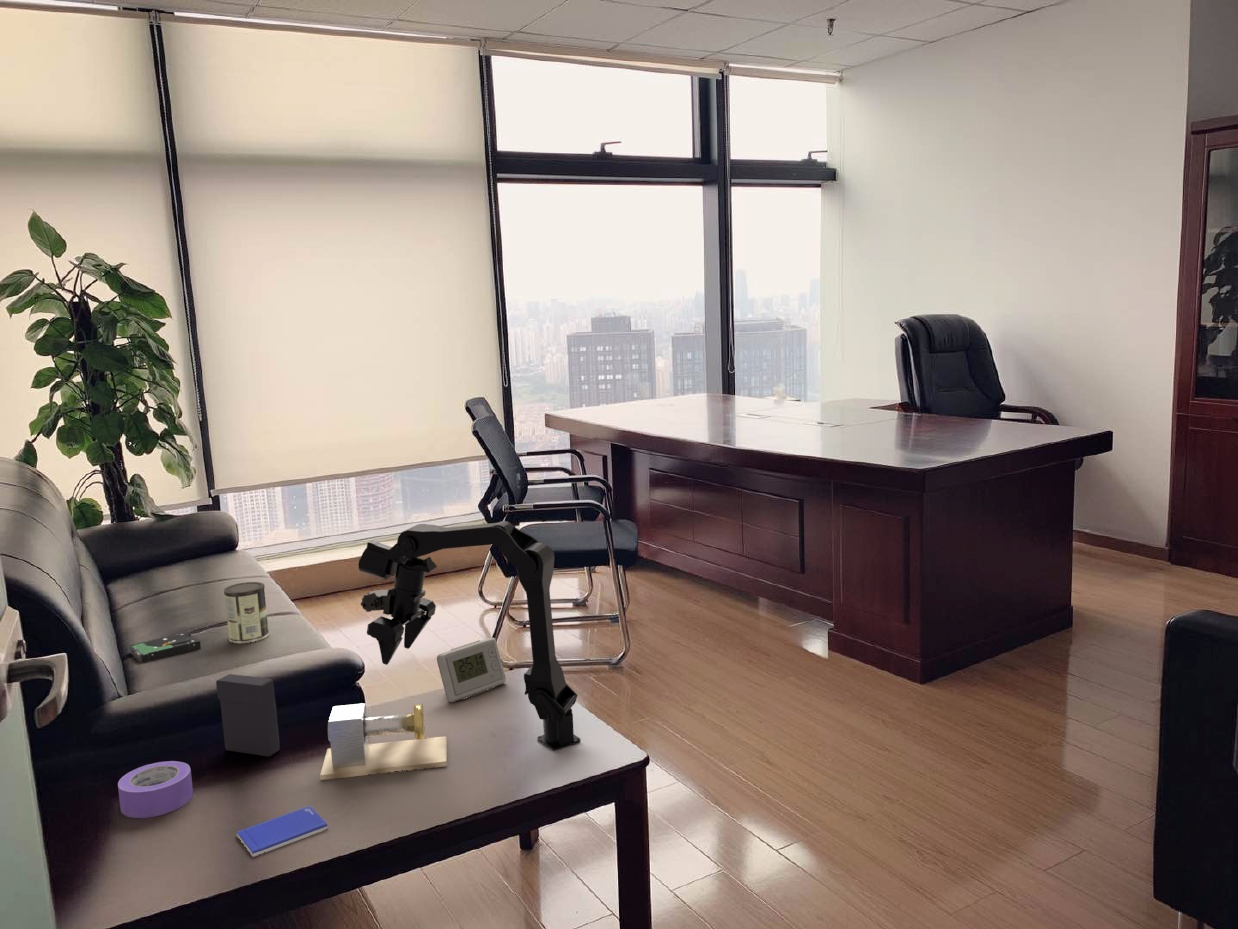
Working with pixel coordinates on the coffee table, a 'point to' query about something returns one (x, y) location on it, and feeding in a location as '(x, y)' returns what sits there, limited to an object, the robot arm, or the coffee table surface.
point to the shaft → (395, 724)
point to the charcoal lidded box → (248, 714)
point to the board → (393, 758)
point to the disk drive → (164, 647)
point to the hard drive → (281, 831)
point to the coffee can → (246, 612)
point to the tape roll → (155, 789)
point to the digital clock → (471, 669)
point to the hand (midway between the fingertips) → (396, 655)
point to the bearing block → (348, 736)
